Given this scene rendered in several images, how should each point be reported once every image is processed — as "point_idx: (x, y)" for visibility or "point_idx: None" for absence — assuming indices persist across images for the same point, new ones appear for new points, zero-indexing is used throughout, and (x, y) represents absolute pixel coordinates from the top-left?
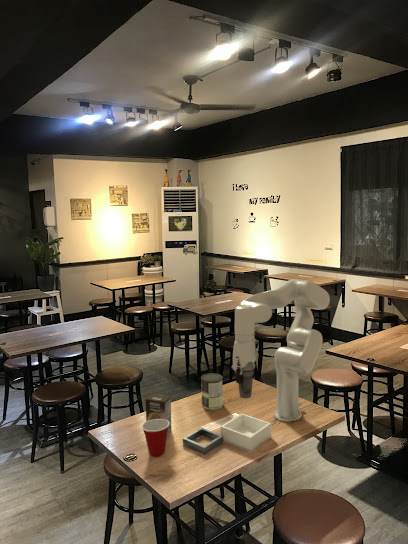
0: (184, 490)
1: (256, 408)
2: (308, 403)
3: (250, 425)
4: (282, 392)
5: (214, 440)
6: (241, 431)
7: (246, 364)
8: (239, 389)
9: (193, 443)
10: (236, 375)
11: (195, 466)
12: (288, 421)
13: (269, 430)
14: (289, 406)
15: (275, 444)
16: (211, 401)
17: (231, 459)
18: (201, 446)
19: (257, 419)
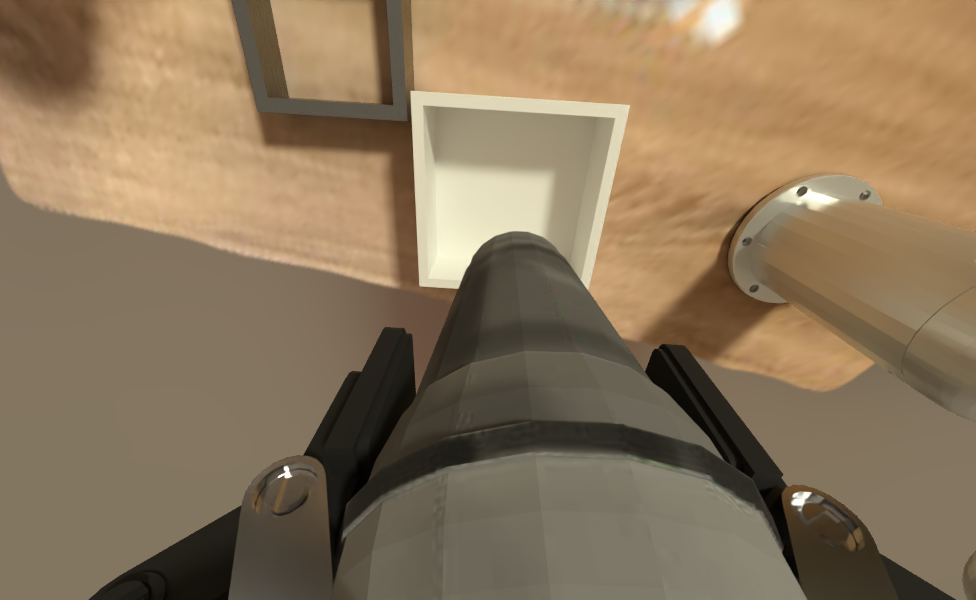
0: (87, 198)
1: (868, 44)
2: None
3: (589, 173)
4: (867, 307)
5: (342, 110)
6: (538, 147)
7: None
8: (464, 280)
9: (237, 17)
10: (347, 414)
11: (196, 133)
12: (730, 272)
13: None
14: (793, 300)
15: None
16: None
17: (344, 226)
18: (252, 87)
19: (595, 227)
